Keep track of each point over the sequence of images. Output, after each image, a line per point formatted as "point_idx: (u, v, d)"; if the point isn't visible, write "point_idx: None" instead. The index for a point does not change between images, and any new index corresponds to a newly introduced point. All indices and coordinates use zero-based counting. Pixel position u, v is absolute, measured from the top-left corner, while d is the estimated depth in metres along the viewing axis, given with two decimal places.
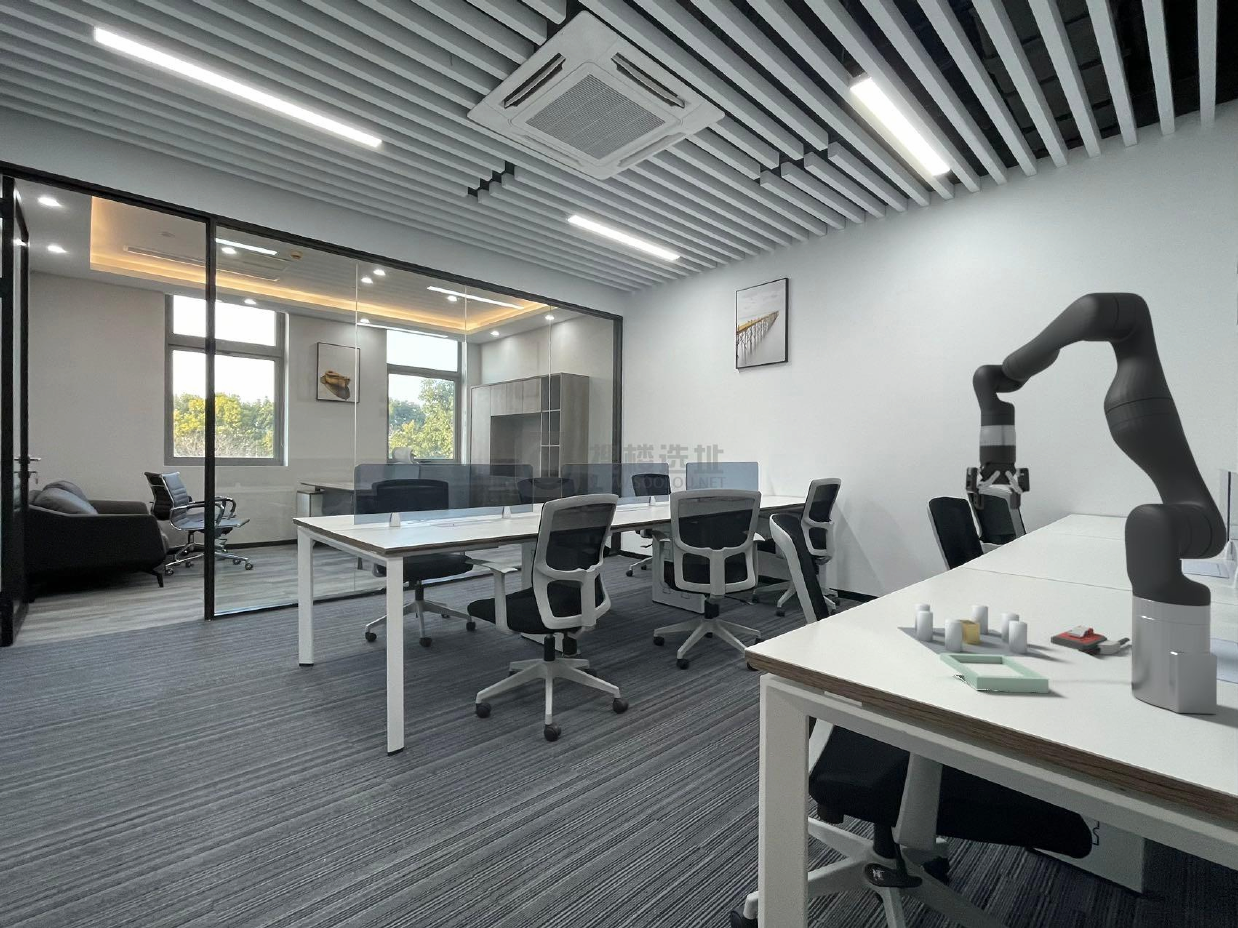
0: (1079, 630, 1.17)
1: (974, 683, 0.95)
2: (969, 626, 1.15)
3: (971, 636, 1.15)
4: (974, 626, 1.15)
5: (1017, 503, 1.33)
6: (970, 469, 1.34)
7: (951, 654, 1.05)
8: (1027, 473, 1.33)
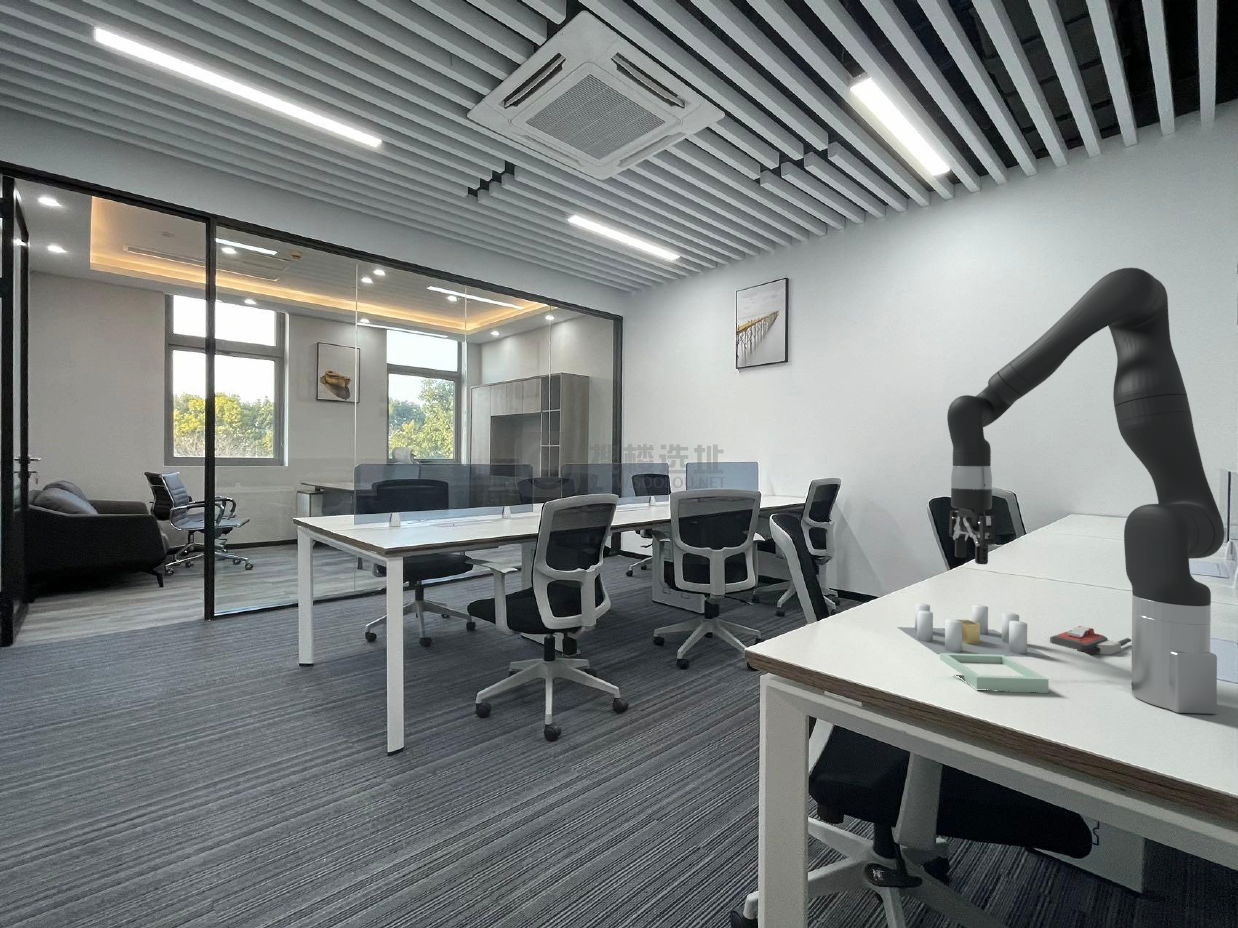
0: (1079, 630, 1.17)
1: (974, 683, 0.95)
2: (969, 626, 1.15)
3: (971, 636, 1.15)
4: (974, 626, 1.15)
5: None
6: (990, 518, 1.11)
7: (951, 654, 1.05)
8: None
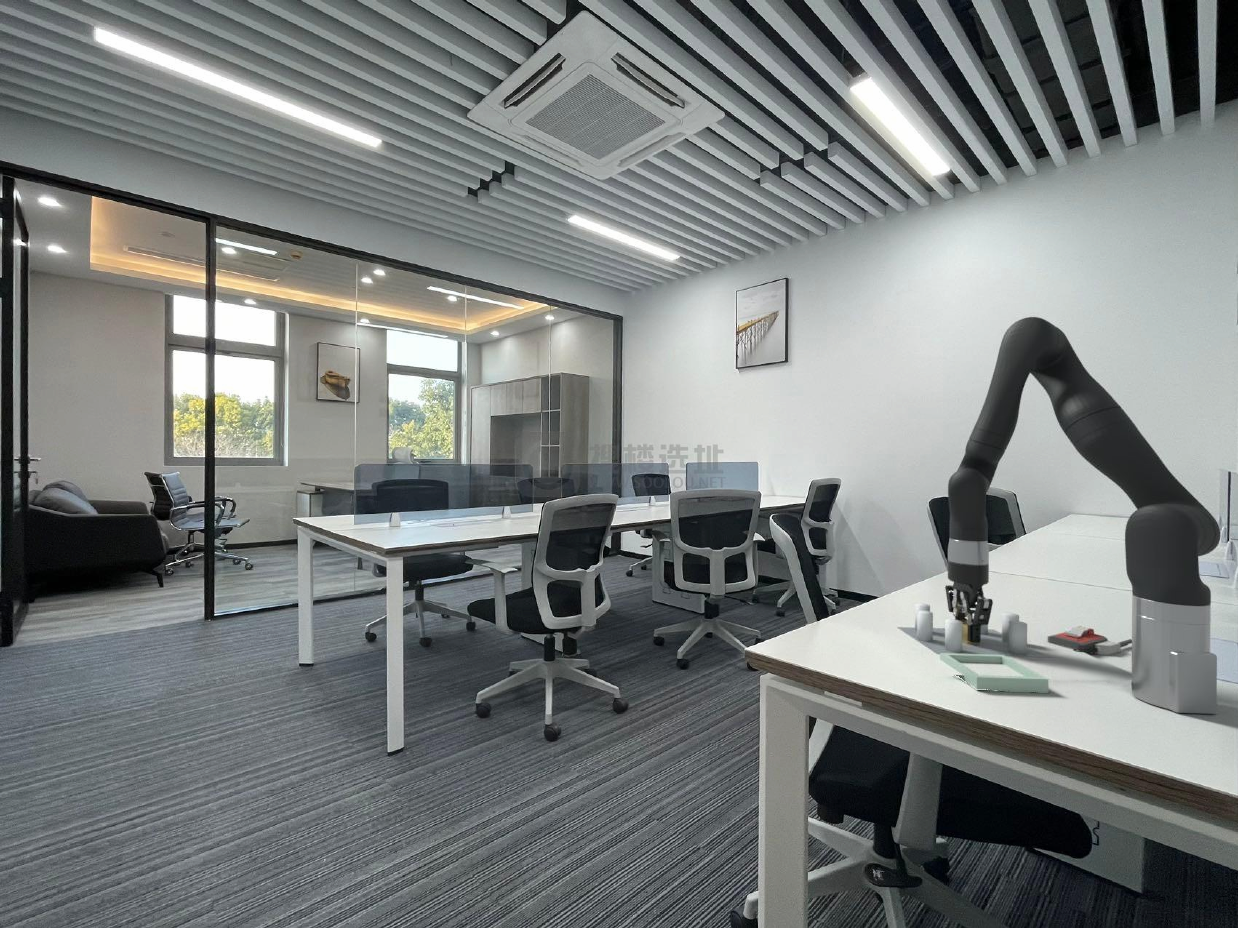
0: (1077, 630, 1.17)
1: (974, 683, 0.95)
2: None
3: None
4: None
5: None
6: (988, 603, 1.11)
7: (951, 654, 1.05)
8: None
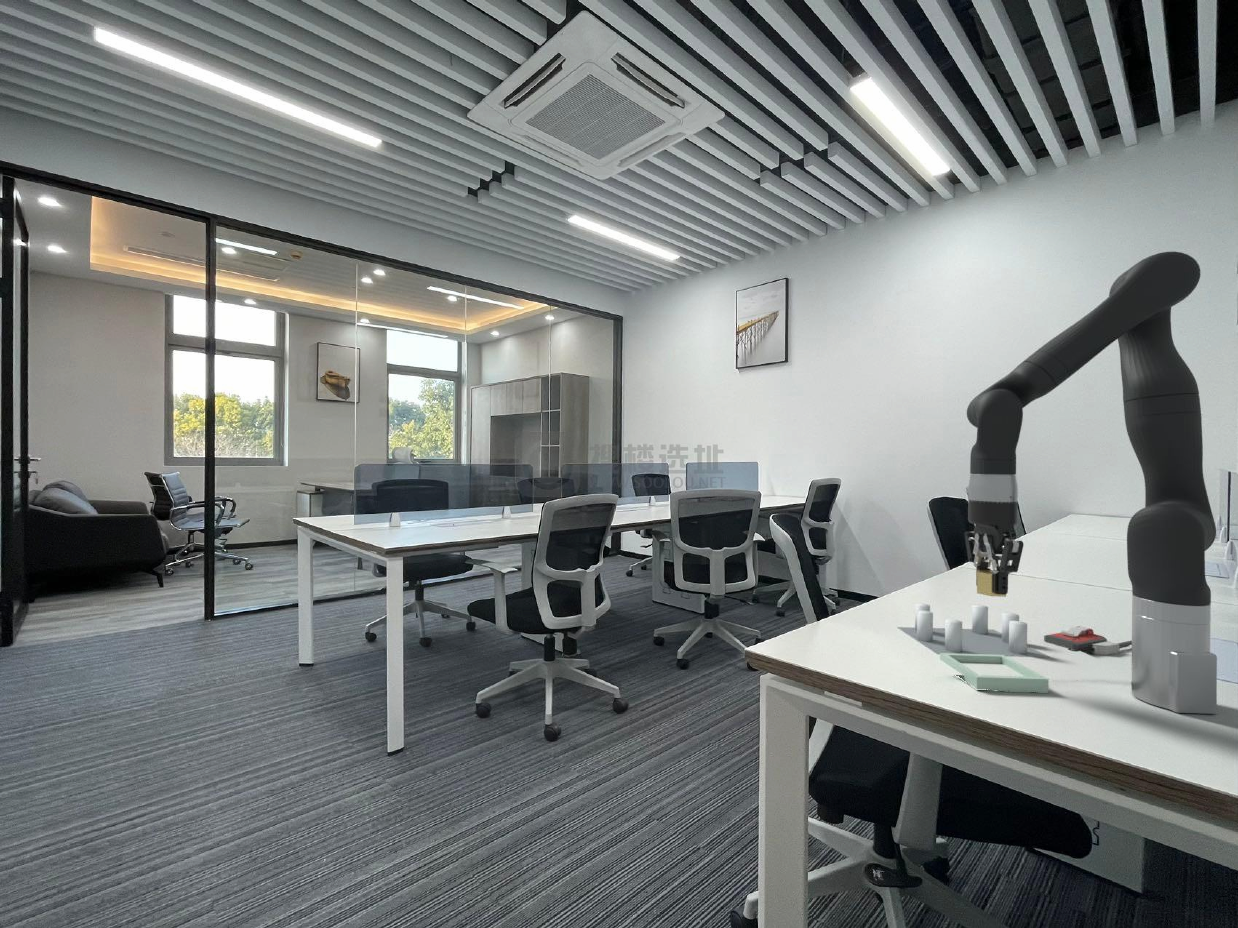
0: (1075, 630, 1.17)
1: (974, 683, 0.95)
2: None
3: None
4: None
5: None
6: (1018, 545, 0.93)
7: (951, 654, 1.05)
8: None
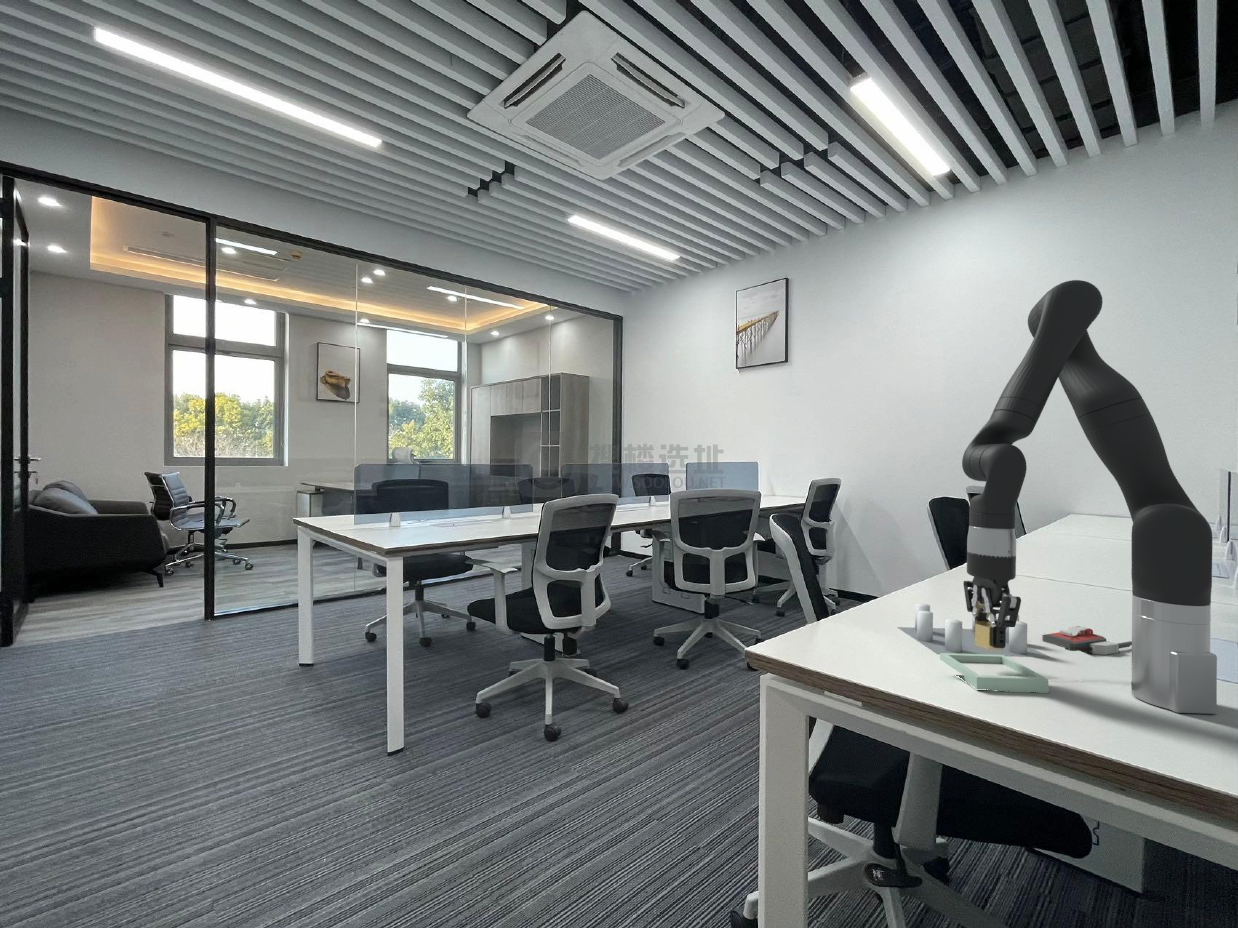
0: (1074, 629, 1.17)
1: (974, 683, 0.95)
2: None
3: None
4: None
5: None
6: (1015, 601, 0.93)
7: (951, 654, 1.05)
8: None
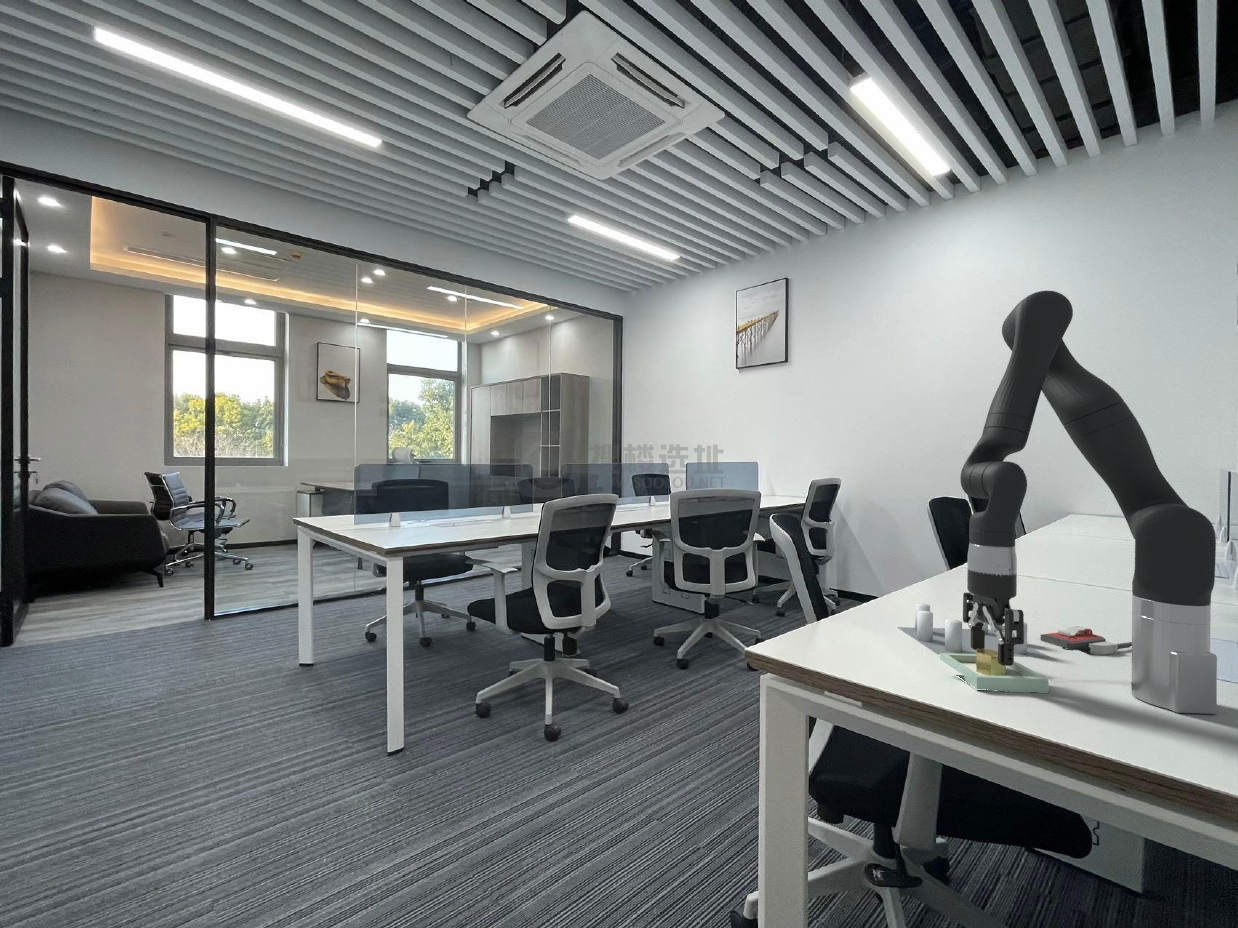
0: (1073, 629, 1.17)
1: (974, 683, 0.95)
2: (993, 657, 0.97)
3: (996, 669, 0.97)
4: None
5: None
6: (1018, 613, 0.93)
7: (951, 654, 1.05)
8: None
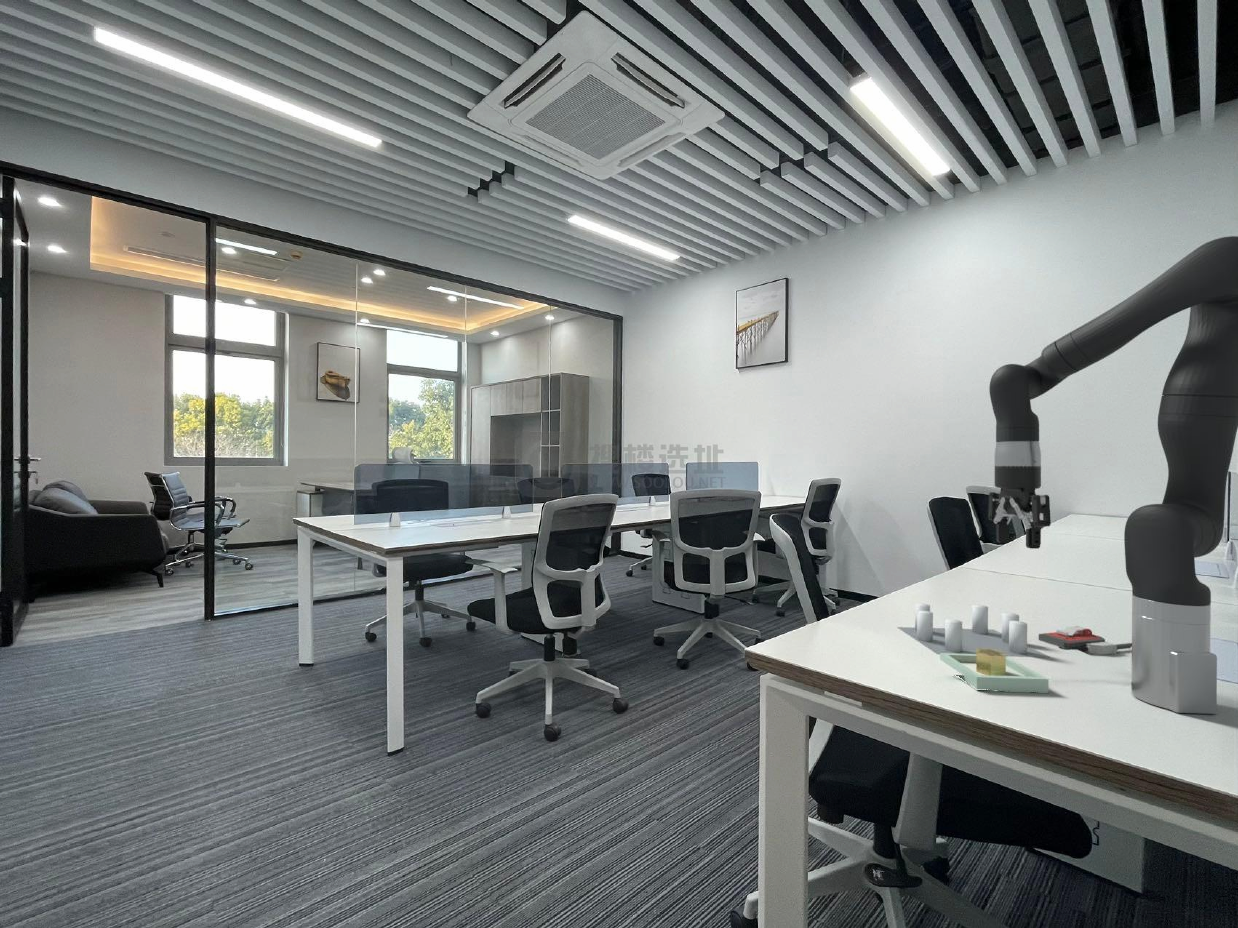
0: (1071, 629, 1.17)
1: (974, 683, 0.95)
2: (993, 657, 0.97)
3: (996, 669, 0.97)
4: (999, 657, 0.97)
5: None
6: (1044, 498, 1.01)
7: (951, 654, 1.05)
8: None
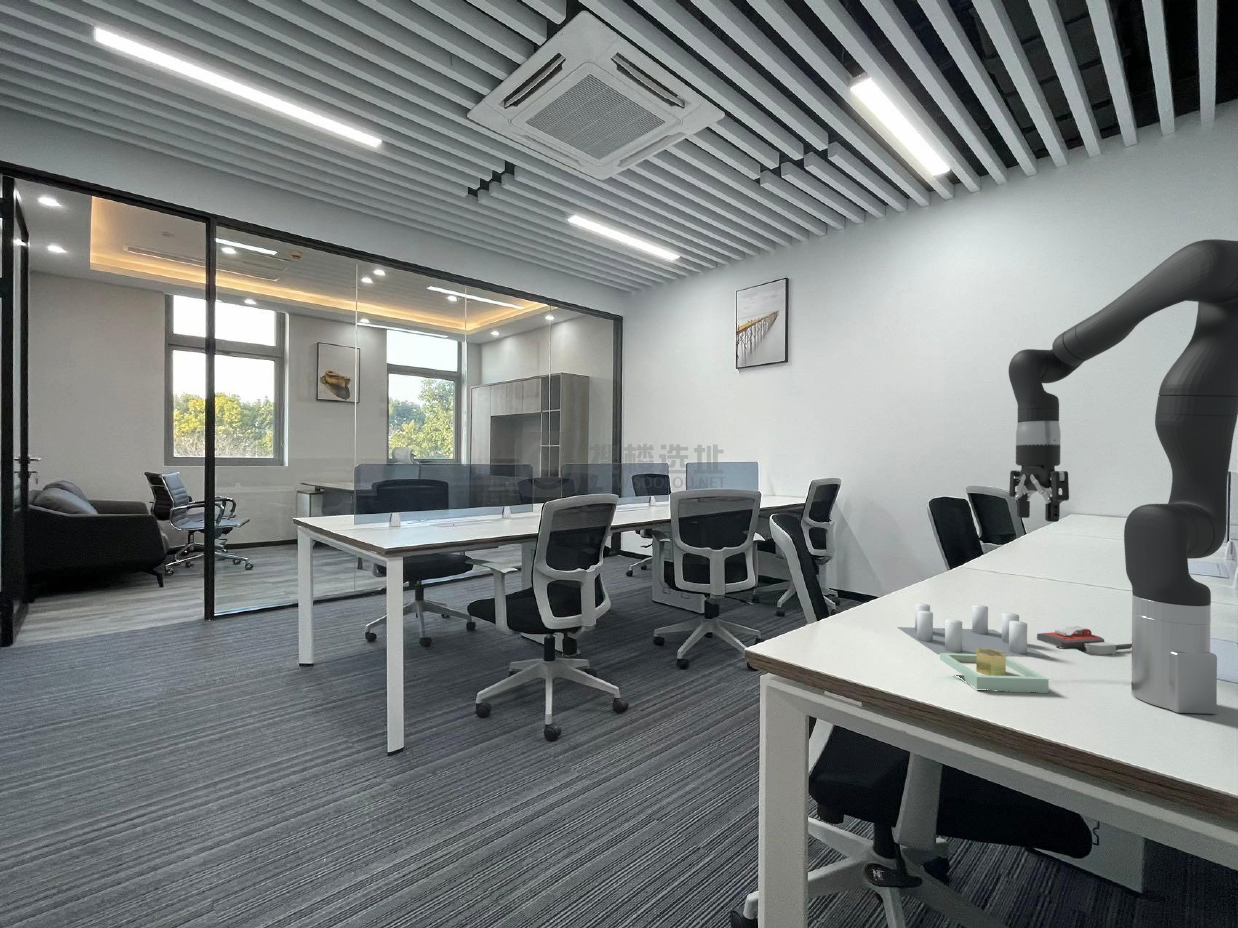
0: (1070, 629, 1.17)
1: (974, 683, 0.95)
2: (993, 657, 0.97)
3: (996, 669, 0.97)
4: (999, 657, 0.97)
5: None
6: (1063, 473, 1.08)
7: (951, 654, 1.05)
8: None
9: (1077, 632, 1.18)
